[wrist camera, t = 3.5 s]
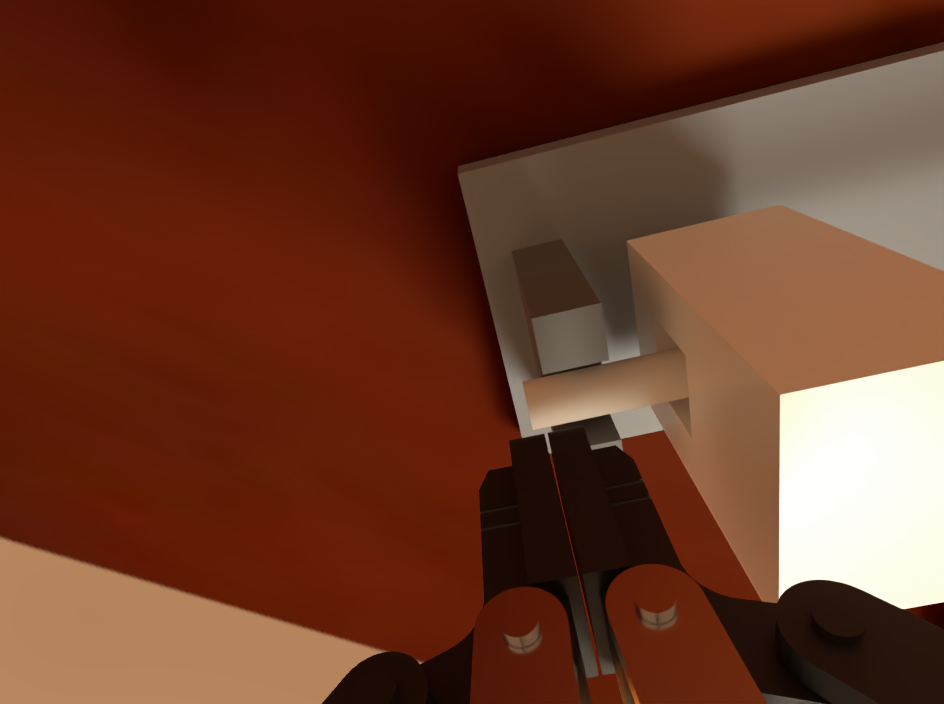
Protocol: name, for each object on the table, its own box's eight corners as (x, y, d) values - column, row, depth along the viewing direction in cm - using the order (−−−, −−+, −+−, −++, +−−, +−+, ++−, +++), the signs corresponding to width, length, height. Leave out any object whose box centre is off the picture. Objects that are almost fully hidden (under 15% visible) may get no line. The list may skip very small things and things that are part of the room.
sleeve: (626, 240, 15) (779, 395, 8) (779, 204, 15) (1088, 330, 7) (645, 397, 17) (778, 630, 10) (779, 368, 17) (1017, 589, 10)
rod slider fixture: (458, 165, 17) (456, 260, 8) (1258, -39, 15) (2312, -187, 6) (522, 433, 21) (565, 674, 13) (1148, 302, 19) (1691, 482, 11)
